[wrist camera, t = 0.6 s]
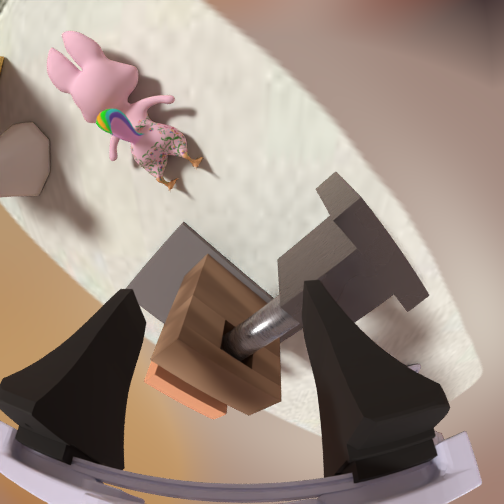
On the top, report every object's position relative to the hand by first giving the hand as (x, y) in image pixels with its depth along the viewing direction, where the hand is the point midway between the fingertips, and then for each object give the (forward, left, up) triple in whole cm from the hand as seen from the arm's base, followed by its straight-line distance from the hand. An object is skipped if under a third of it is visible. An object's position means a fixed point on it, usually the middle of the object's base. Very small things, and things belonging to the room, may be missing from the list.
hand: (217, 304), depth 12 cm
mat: (-9, +3, -10) cm, 14 cm away
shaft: (-5, -1, -6) cm, 8 cm away
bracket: (-7, +1, -10) cm, 13 cm away
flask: (+8, +19, -11) cm, 23 cm away
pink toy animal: (+10, +7, -11) cm, 16 cm away
